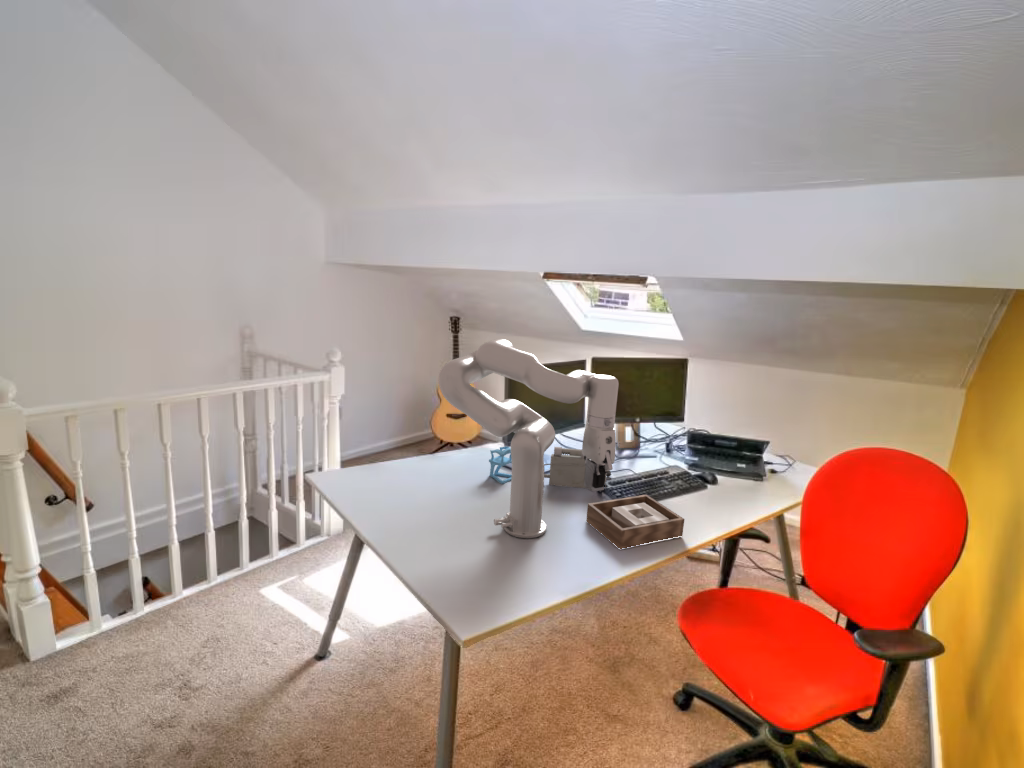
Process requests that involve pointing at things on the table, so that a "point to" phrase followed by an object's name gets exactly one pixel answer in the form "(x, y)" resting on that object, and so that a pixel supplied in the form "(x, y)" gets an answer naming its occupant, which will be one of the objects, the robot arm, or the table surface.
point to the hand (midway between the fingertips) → (594, 483)
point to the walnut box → (634, 520)
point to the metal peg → (590, 475)
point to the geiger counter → (567, 468)
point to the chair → (500, 463)
